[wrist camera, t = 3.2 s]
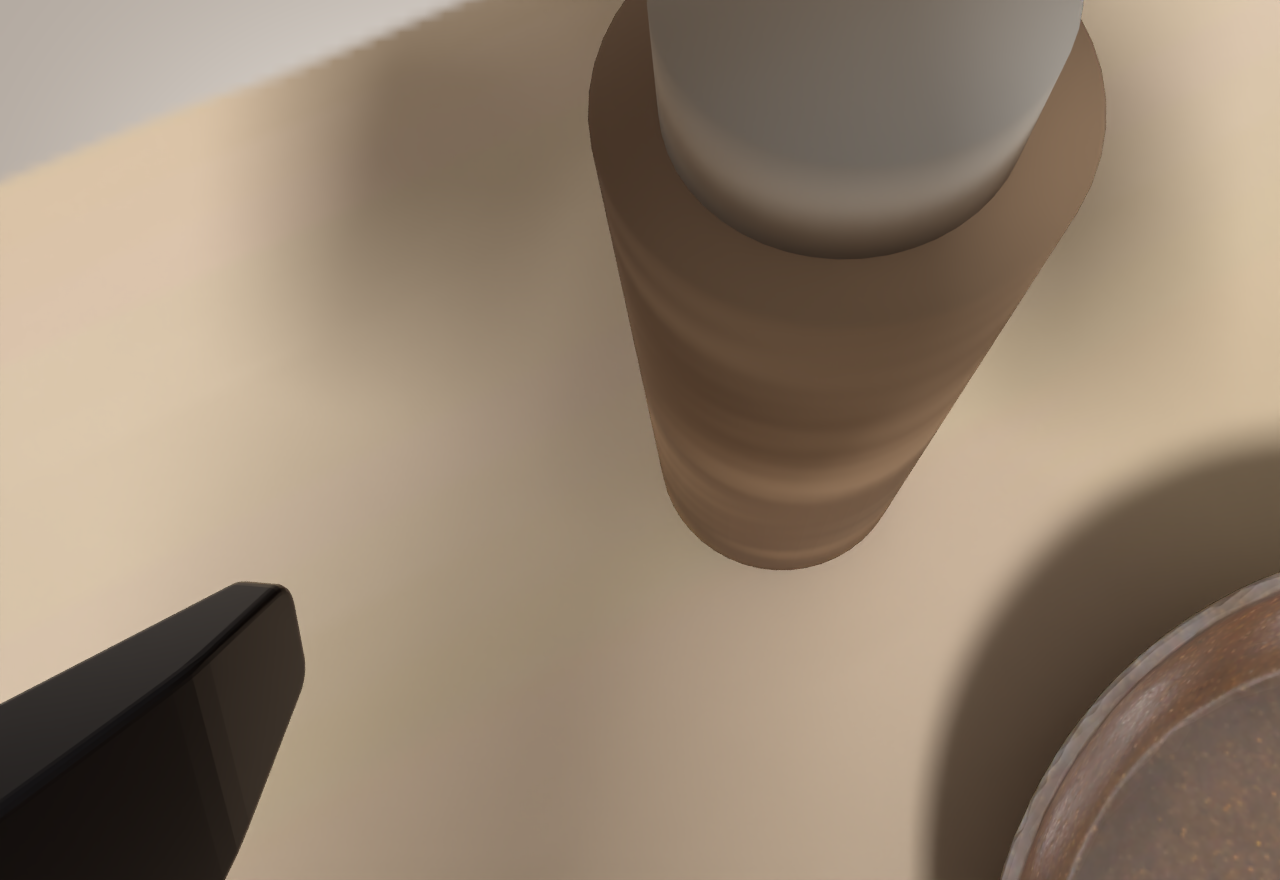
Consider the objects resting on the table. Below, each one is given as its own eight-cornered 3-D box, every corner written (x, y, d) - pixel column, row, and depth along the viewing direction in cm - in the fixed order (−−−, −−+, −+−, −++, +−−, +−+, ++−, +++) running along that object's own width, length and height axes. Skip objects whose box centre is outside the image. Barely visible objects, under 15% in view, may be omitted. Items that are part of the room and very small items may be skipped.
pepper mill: (949, 461, 21) (1308, -19, 8) (772, 620, 20) (856, 374, 7) (784, 302, 22) (864, -324, 9) (614, 445, 21) (448, -20, 9)
